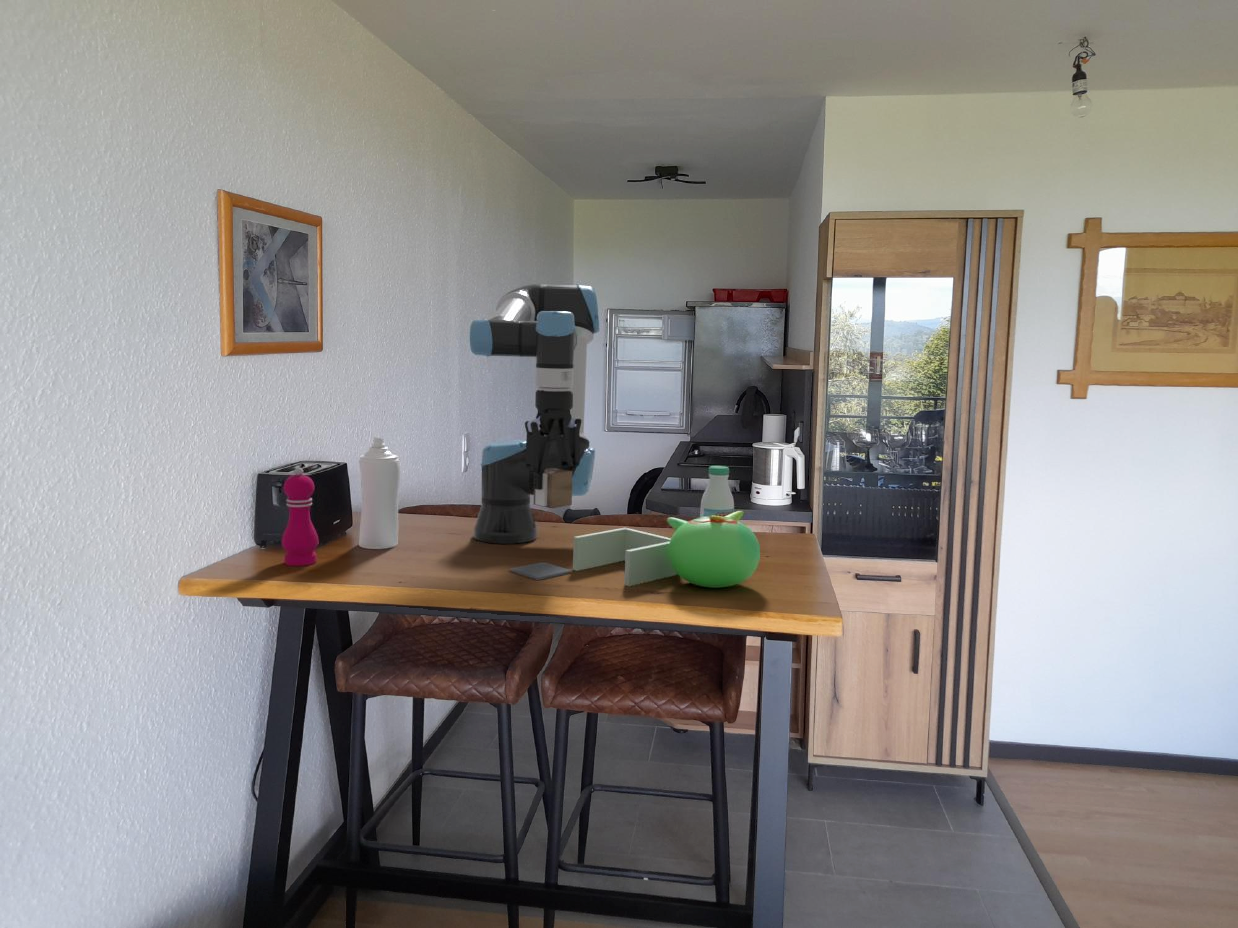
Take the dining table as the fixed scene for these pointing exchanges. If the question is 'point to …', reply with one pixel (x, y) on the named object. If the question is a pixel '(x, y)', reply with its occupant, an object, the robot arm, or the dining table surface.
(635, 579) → the u-shaped panel enclosure
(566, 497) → the walnut block
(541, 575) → the coaster
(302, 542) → the pepper mill
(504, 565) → the dining table surface
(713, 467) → the milk bottle
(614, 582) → the dining table surface
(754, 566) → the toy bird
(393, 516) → the spray can
